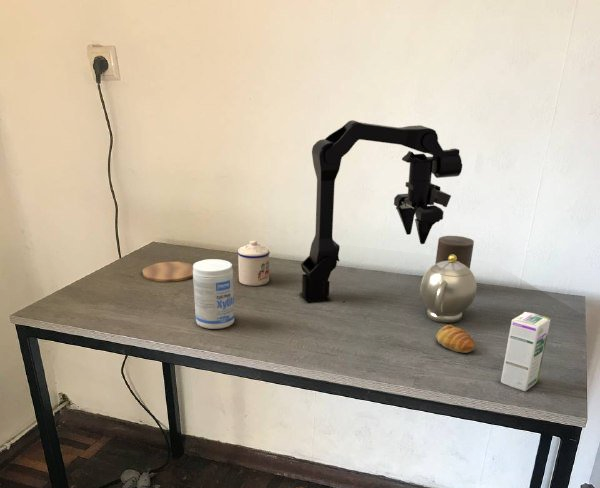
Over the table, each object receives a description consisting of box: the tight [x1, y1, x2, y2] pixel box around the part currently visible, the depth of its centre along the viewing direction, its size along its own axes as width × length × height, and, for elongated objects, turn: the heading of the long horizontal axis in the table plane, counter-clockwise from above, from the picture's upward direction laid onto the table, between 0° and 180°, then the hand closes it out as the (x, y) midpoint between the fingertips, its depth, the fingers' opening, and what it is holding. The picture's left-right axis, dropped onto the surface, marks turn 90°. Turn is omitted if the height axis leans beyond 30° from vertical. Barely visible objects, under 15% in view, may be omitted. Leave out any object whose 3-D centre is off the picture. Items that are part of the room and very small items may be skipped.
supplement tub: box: [192, 258, 235, 330], centre depth 153 cm, size 10×10×15 cm
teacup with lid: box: [237, 240, 271, 287], centre depth 181 cm, size 12×9×12 cm
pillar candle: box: [434, 235, 475, 270], centre depth 178 cm, size 10×10×15 cm
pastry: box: [435, 324, 476, 354], centre depth 146 cm, size 9×7×4 cm
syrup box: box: [500, 311, 551, 392], centre depth 129 cm, size 6×6×14 cm
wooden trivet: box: [142, 261, 194, 283], centre depth 188 cm, size 16×16×1 cm
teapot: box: [420, 254, 477, 324], centre depth 157 cm, size 18×14×16 cm
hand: (415, 239), depth 172 cm, fingers open, 9 cm apart
